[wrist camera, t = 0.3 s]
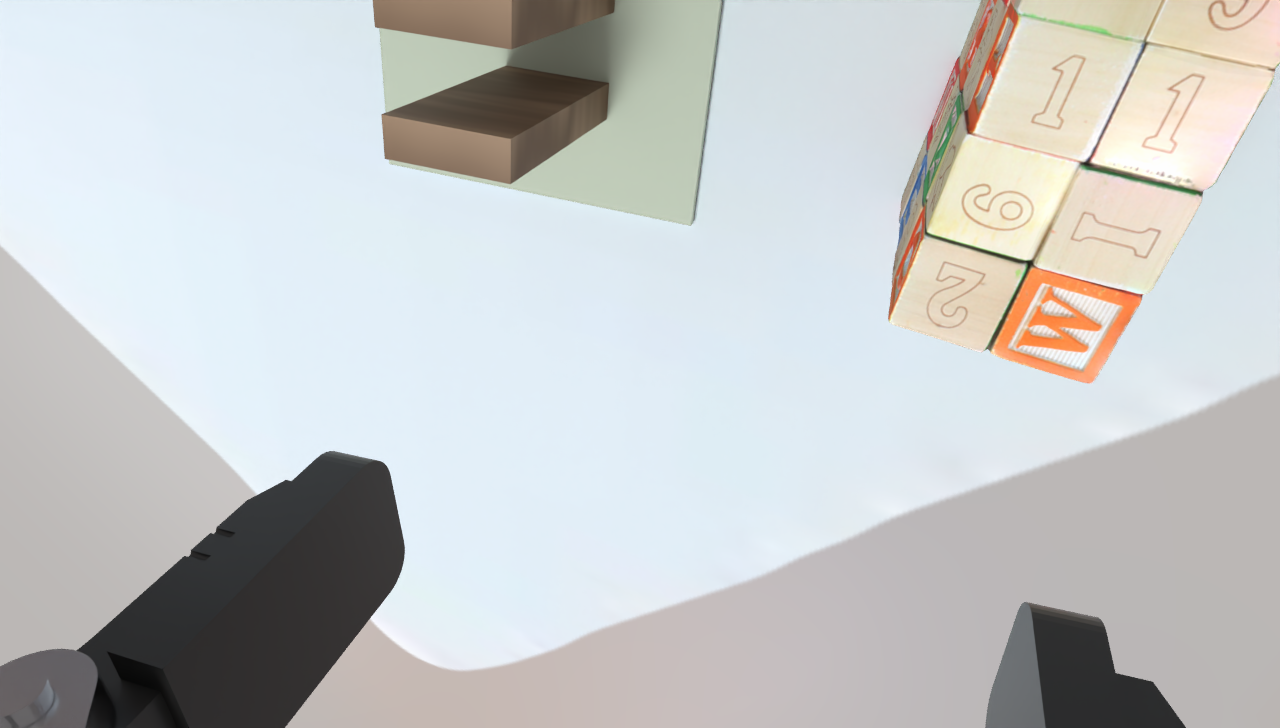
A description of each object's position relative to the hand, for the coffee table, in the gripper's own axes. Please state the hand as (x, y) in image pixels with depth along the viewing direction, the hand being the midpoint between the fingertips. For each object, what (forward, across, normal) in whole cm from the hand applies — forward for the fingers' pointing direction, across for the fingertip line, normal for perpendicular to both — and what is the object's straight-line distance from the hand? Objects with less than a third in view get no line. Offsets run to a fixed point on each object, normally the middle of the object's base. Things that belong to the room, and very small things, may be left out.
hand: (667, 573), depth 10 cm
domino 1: (+28, +13, -4) cm, 31 cm away
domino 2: (+28, +13, +1) cm, 31 cm away
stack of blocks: (+29, -7, -6) cm, 30 cm away
